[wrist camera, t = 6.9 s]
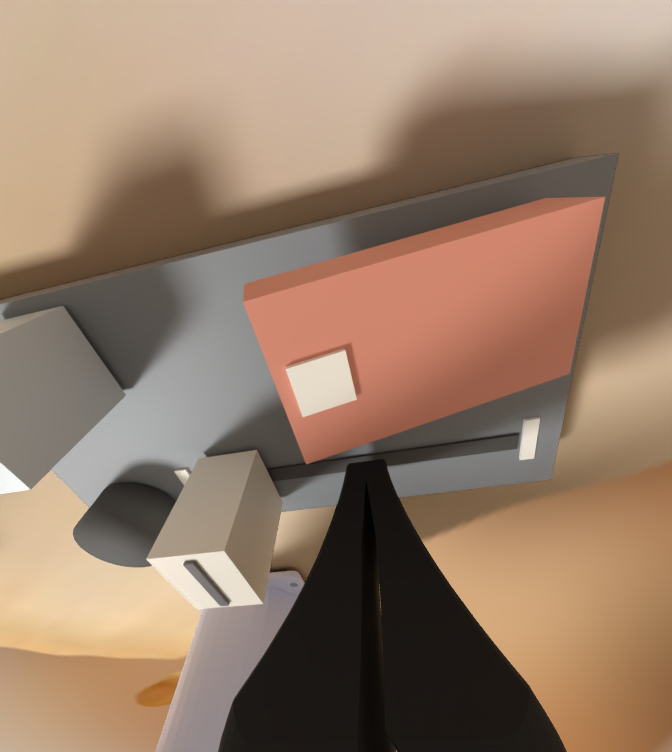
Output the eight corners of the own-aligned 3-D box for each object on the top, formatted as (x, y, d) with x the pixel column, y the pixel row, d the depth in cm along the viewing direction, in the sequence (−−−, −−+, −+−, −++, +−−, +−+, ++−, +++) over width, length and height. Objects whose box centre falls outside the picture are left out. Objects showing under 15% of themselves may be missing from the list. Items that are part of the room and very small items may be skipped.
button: (196, 527, 15) (181, 563, 13) (129, 535, 15) (108, 570, 14) (157, 477, 13) (135, 512, 12) (82, 488, 13) (52, 523, 12)
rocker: (527, 351, 9) (573, 375, 8) (298, 427, 9) (306, 467, 7) (545, 197, 7) (610, 196, 6) (244, 283, 6) (242, 303, 5)
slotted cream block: (282, 502, 13) (262, 607, 10) (230, 508, 14) (195, 612, 10) (257, 449, 12) (222, 555, 8) (198, 458, 12) (143, 562, 9)
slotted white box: (126, 395, 11) (27, 493, 7) (65, 406, 11) (-57, 504, 8) (63, 305, 9) (-103, 379, 6) (-7, 322, 9) (-203, 401, 6)
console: (531, 452, 14) (564, 498, 12) (131, 504, 17) (102, 550, 15) (576, 157, 8) (652, 149, 6) (-43, 310, 11) (-132, 340, 9)
